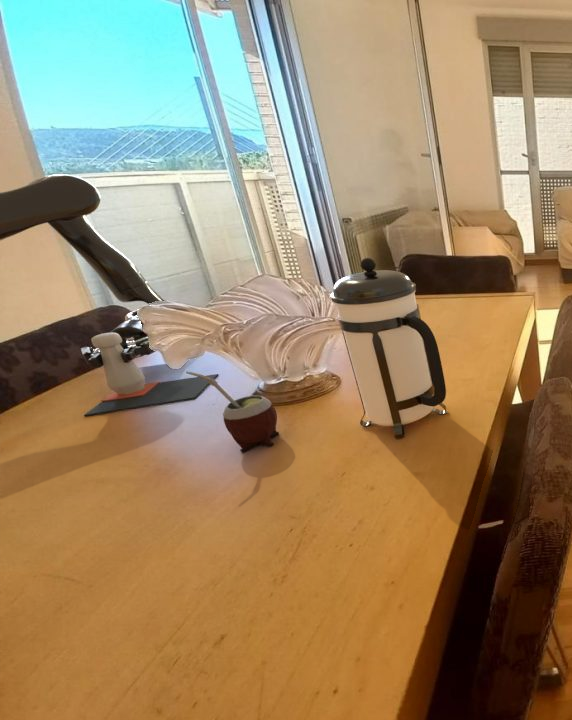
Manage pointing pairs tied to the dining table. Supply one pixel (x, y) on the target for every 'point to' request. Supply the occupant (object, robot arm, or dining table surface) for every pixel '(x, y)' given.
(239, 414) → the mate gourd
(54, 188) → the robot arm
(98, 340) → the salt shaker
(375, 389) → the coffee press
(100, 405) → the dark grey flat slab
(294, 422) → the dining table surface
